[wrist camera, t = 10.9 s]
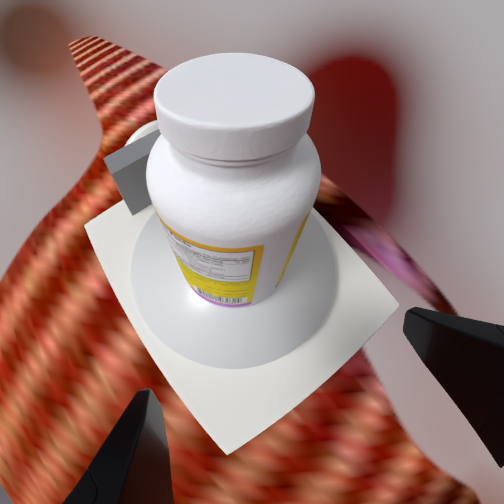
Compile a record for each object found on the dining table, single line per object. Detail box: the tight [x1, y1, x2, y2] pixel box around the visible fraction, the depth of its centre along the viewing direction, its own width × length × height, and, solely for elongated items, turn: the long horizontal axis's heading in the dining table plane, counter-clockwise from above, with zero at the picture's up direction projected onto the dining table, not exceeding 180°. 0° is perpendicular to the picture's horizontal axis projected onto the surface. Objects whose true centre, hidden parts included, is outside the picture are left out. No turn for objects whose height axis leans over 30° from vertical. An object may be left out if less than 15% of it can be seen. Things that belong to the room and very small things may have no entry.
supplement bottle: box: [146, 53, 321, 309], centre depth 13 cm, size 7×7×13 cm
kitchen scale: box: [84, 120, 400, 455], centre depth 18 cm, size 21×16×8 cm
